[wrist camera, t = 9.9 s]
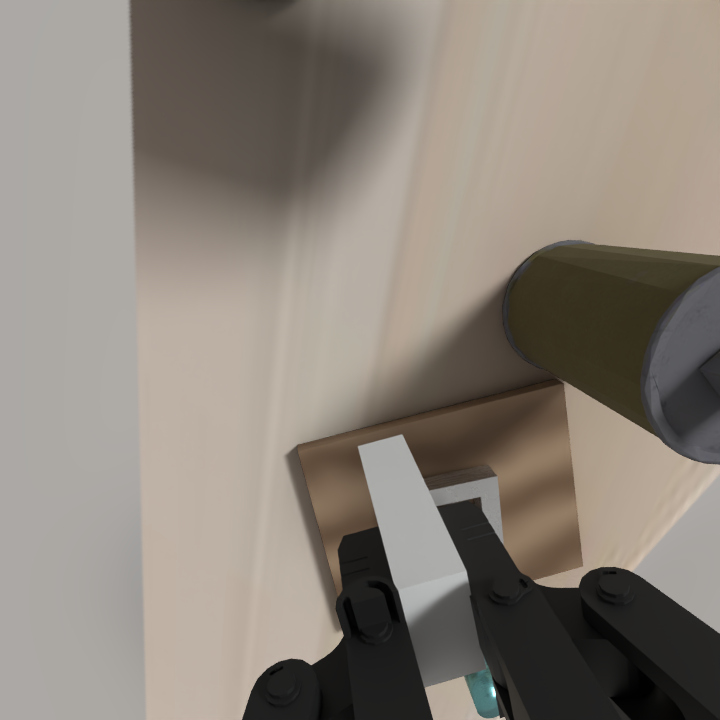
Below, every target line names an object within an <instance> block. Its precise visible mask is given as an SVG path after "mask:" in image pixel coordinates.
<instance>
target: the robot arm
mask: <svg viewBox="0 0 720 720" xmlns="http://www.w3.org/2000/svg"><path fill="white" fill-rule="evenodd" d="M358 449H359V453H360V457H361V461H362V465H363V469H364V472H365V476H366V480H367V484H368V488H369V492H370V495H371V499H372V503H373V507H374V511H375V515H376V518H377V522H378V526H377V527H374V528H370V529H366V530H363V531H359V532H356V533H352V534H348V535H345V536H343V538H342V540H341V543H340V545H339V548H338V558H339V565H340V574H341V582H342V592H341V593H340V595H339V596H338V598H337V602H336V612H337V615H338V618H339V621H340V625H341V628H342V631H343V634H344V637H343V638H342V640H341V642H340V643H339V645H338V646H337V647H336V648H335V649H334V650H333V651H332V652H331V653H330V654H328V655H327V656H326V657H324V658H323V659H321V660H319V661H318V662H316V663H314V664H313V665H310V664H308V663H306V662H305V661H303V660H299V659H288V660H284V661H280V662H278V663H276V664H274V665H273V666H271V667H269V668H268V669H267V670H266V671H265V672H264V673H263V674H262V675H261V676H260V677H259V678H258V679H257V681H256V683H255V685H254V687H253V689H252V691H251V694H250V697H249V700H248V703H247V706H246V709H245V712H244V715H243V719H242V720H433V718H432V714H431V710H430V707H429V703H428V699H427V696H426V692H425V687H428V686H431V685H435V684H438V683H442V682H445V681H448V680H452V679H455V678H459V677H462V676H465V675H469V674H472V673H476V672H479V671H482V670H486V665H485V660H486V663H487V665H488V667H489V670H490V672H491V675H492V680H493V685H494V690H495V695H496V700H497V705H498V710H499V715H500V718H502V717H505V718H506V720H720V634H719V633H718V632H717V631H715V630H714V629H712V628H711V627H710V626H708V625H707V624H705V623H704V622H703V621H701V620H700V619H698V618H697V617H696V616H694V615H693V614H691V613H690V612H689V611H687V610H686V609H685V608H683V607H682V606H680V605H679V604H677V603H676V602H675V601H673V600H672V599H671V598H669V597H668V596H666V595H665V594H664V593H662V592H661V591H660V590H658V589H657V588H655V587H654V586H653V585H651V584H650V583H648V582H647V581H646V580H644V579H643V578H641V577H640V576H638V575H636V574H634V573H632V572H630V571H629V570H625V569H621V568H616V567H601V568H598V569H595V570H591V571H589V572H588V573H587V574H586V575H585V576H583V577H582V579H581V582H580V585H579V588H551V587H546V586H542V585H538V584H536V583H535V582H534V581H533V580H532V579H531V578H530V577H529V576H527V575H525V574H522V573H521V572H520V571H519V570H518V568H517V566H516V565H515V563H514V562H513V560H512V558H511V557H510V555H509V553H508V552H507V550H506V548H505V547H504V545H503V544H502V542H501V540H500V539H499V537H498V535H497V534H496V533H495V530H494V529H493V527H492V526H491V524H490V523H489V521H488V519H487V517H486V516H485V514H484V513H483V511H482V509H481V508H479V507H478V506H476V505H474V504H473V503H471V502H470V501H468V500H466V501H462V502H459V503H455V504H452V505H448V506H444V507H441V508H437V507H436V505H435V503H434V501H433V499H432V496H431V494H430V492H429V490H428V488H427V486H426V484H425V482H424V479H423V477H422V475H421V473H420V471H419V469H418V467H417V465H416V462H415V460H414V458H413V456H412V454H411V452H410V450H409V447H408V445H407V443H406V441H405V439H404V437H403V435H402V434H401V435H398V436H394V437H390V438H387V439H383V440H379V441H375V442H372V443H368V444H364V445H361V446H358ZM484 658H485V660H484Z"/></svg>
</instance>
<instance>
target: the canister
mask: <svg viewBox="0 0 720 720" xmlns="http://www.w3.org/2000/svg"><path fill="white" fill-rule="evenodd" d="M503 323H504V327H505V331H506V335H507V339H508V340H509V342H510V343H511V345H512V347H513V348H514V349H515V350H516V352H517V353H518V354H519V355H520V356H521V357H522V358H523V359H524V360H526V361H527V362H528V363H530V364H533V365H535V366H537V367H539V368H542V369H546V370H547V371H549V372H551V373H552V374H554V375H556V376H557V377H559V378H561V379H562V380H564V381H566V382H567V383H569V384H571V385H572V386H574V387H576V388H577V389H579V390H581V391H582V392H584V393H585V394H587V395H589V396H590V397H592V398H594V399H595V400H597V401H599V402H600V403H602V404H604V405H605V406H607V407H609V408H610V409H612V410H614V411H615V412H617V413H619V414H620V415H622V416H624V417H625V418H627V419H629V420H630V421H632V422H634V423H635V424H637V425H639V426H640V427H642V428H644V429H645V430H647V431H649V432H650V433H652V434H654V435H655V436H657V437H659V438H660V439H661V440H662V442H663V443H664V444H665V445H667V446H668V447H670V448H671V449H672V450H674V451H675V452H677V453H678V454H680V455H682V456H684V457H687V458H689V459H691V460H694V461H698V462H702V463H706V464H720V256H715V255H704V254H693V253H682V252H671V251H660V250H649V249H638V248H627V247H616V246H606V245H595V244H593V243H589V242H585V241H576V240H567V241H561V242H557V243H554V244H552V245H549V246H546V247H544V248H542V249H540V250H539V251H537V252H535V253H534V254H533V255H532V256H531V257H530V258H529V259H528V260H527V261H526V262H525V263H524V264H523V265H522V266H521V267H520V268H519V269H518V270H517V272H516V273H515V274H514V276H513V278H512V280H511V281H510V283H509V285H508V288H507V292H506V296H505V300H504V304H503Z"/></svg>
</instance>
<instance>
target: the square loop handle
mask: <svg viewBox="0 0 720 720" xmlns="http://www.w3.org/2000/svg"><path fill="white" fill-rule="evenodd" d="M423 479H424V482H425V484H426V486H427V488H428V490H429V492H430V494H431V496H432V499H433V501H434V503H435V505H436V506H440V505H445V504H449V503H454V502H459V501H463V500H468V499H473V498H474V504H475V505H476V506H478V507H479V508H481V509H482V511H483V513H484V514H485V516H486V517H487V519H488V521H489V523H490V524H491V526H492V527H493V529H494V530H495V533H496V534H497V535H498V537H499V539H500V540H501V542H502V544H503V545H504V541H503V531H502V520H501V509H500V498H499V487H498V476H497V475H496V474H495V472H494V471H493V470H492V469H491V467H490V466H489V465H483V466H479V467H474V468H469V469H464V470H460V471H455V472H450V473H445V474H441V475H436V476H431V477H427V478H423ZM484 660H485V658H484ZM485 665H486V670H482V671H479V672H476V673H472V674H469V675H465V676H464V678H465V680H466V683H467V686H468V688H469V691H470V693H471V696H472V699H473V701H474V704H475V707H476V709H477V712H478V714H479V715H480V716H482V717H484V718H494V717H497V716H499V710H498V705H497V700H496V695H495V690H494V685H493V680H492V675H491V672H490V670H489V667H488V665H487V663H486V660H485Z"/></svg>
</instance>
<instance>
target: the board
mask: <svg viewBox="0 0 720 720" xmlns="http://www.w3.org/2000/svg"><path fill="white" fill-rule="evenodd" d="M401 434H402V435H403V437H404V439H405V441H406V443H407V445H408V447H409V450H410V452H411V454H412V456H413V458H414V460H415V462H416V465H417V467H418V469H419V471H420V473H421V475H422V477H423V478H427V477H431V476H436V475H441V474H445V473H450V472H455V471H460V470H464V469H469V468H474V467H479V466H483V465H489V466H490V467H491V469H492V470H493V471H494V472H495V474H496V475H497V476H498V487H499V498H500V509H501V520H502V531H503V541H504V547H505V548H506V550H507V552H508V553H509V555H510V557H511V558H512V560H513V562H514V563H515V565H516V566H517V568H518V570H519V571H520V572H521V573H522V574H525V575H527V576H529V577H530V578H531V579H532V580H536V579H539V578H543V577H547V576H550V575H554V574H557V573H561V572H564V571H568V570H571V569H575V568H579V567H582V566H583V562H582V552H581V543H580V533H579V524H578V515H577V505H576V496H575V486H574V477H573V467H572V458H571V449H570V439H569V430H568V420H567V411H566V401H565V392H564V383H562V382H560V381H559V380H557V379H554V380H550V381H546V382H542V383H539V384H535V385H531V386H527V387H523V388H519V389H515V390H511V391H507V392H503V393H499V394H495V395H491V396H488V397H484V398H480V399H476V400H472V401H468V402H464V403H460V404H456V405H452V406H448V407H444V408H440V409H437V410H433V411H429V412H425V413H421V414H417V415H413V416H409V417H405V418H401V419H397V420H393V421H389V422H386V423H382V424H378V425H374V426H370V427H366V428H362V429H358V430H354V431H350V432H346V433H342V434H338V435H335V436H331V437H327V438H323V439H319V440H315V441H311V442H307V443H303V444H299V445H298V454H299V458H300V461H301V465H302V469H303V472H304V476H305V479H306V483H307V487H308V490H309V494H310V498H311V501H312V505H313V508H314V512H315V516H316V519H317V523H318V527H319V530H320V534H321V537H322V541H323V545H324V548H325V552H326V556H327V559H328V563H329V566H330V570H331V574H332V577H333V581H334V584H335V588H336V592H337V595H338V596H339V595H340V593H341V592H342V582H341V574H340V565H339V558H338V548H339V545H340V543H341V540H342V538H343V536H345V535H348V534H352V533H356V532H359V531H363V530H366V529H370V528H374V527H377V526H378V522H377V518H376V515H375V511H374V507H373V503H372V499H371V495H370V492H369V488H368V484H367V480H366V476H365V472H364V469H363V465H362V461H361V457H360V453H359V449H358V446H361V445H364V444H368V443H372V442H375V441H379V440H383V439H387V438H390V437H394V436H398V435H401ZM463 501H466V500H463ZM468 501H470V502H471V503H473V504H474V498H473V499H468ZM459 502H462V501H459ZM459 502H454V503H449V504H445V505H440V506H436V507H437V508H441V507H444V506H448V505H452V504H455V503H459ZM474 505H475V504H474Z"/></svg>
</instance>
